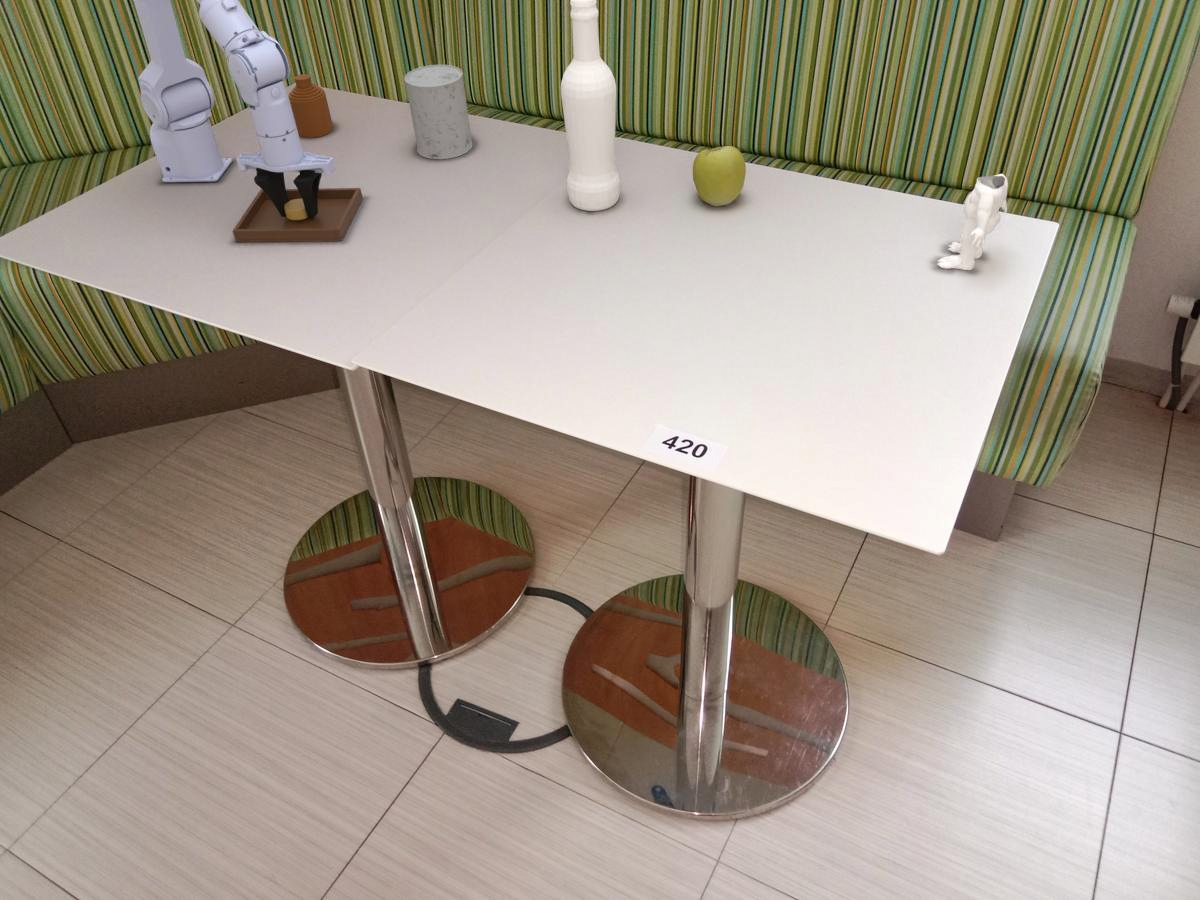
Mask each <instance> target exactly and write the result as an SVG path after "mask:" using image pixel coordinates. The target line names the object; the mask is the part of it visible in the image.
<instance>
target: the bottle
mask: <svg viewBox="0 0 1200 900" xmlns="http://www.w3.org/2000/svg"><path fill="white" fill-rule="evenodd" d="M597 3H598V1H597V0H570V1H569V4H570V6H571V9H570V15H569V16H570V19H571V31H572V32H571V33H572V53H573V54H572V57H573V58H572V60H571V62H570V64H568V65H567V67H566V69H565V70H564V72H563V74H562V75H563V76H562V79H561V83H560V98H561V104H562V112H563V119H564V121H563V122H564V127H565V136H566V143H567V150H568V158H569V159H568V160H569V172H568V174H567V179H566V188H567V189H566V190H567V195H568V199H569V202H570V203H571V205H572V206H573V207H575V208H576V209H578V210H582V211H587V212H598V211H603V210H607V209H609V208H612V207H613V206H614V205H615V204H616V203H617V202H618V200H619V198H620V194H621V193H620V192H621V178H620V174H619V172H618V170H617V167H616V166H617V165H616V155H615V154H616V120H617V119H616V115H617V84H616V79H615V77H614V74H613V72H612V70H611V68H610V67H609V66H608V65H607V63H606V62H605V61H604V60H603V59H602V57H601V51H600V37H599V22H598V18H599V10H598V8H597V7H598V6H597Z"/></svg>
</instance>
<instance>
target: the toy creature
mask: <svg viewBox="0 0 1200 900" xmlns="http://www.w3.org/2000/svg"><path fill="white" fill-rule="evenodd" d="M1008 188H1009V181H1008V178H1007V177H1006V176H1005V174H1003V173H998V174H994V175H985V176H984V175H983V176H979V177H977V178H976V183H975V185H974V188H973V189H972V191H971V192H970V193H969V194H968V195H967V197H966V199H965V201H964V205H963V213H964V215H965V219H964V221H963V224H962V229H961V235H960V236H959V237H960V238H959V241H960V242H957V241H952V242H951V244H949V245H948V247H949V248H947V250H948V251H950V252H952V253H958V254H953V255H952V254H951V255H949V256H942V257H941V258H940V259H938V260H937V263H936V266H939V267H940V268H941V269H946V270H949V269H956V270H963V271H972V270H973V269H974V266H975V263H976V262H975V259H980V258H981V256H982V254H983V250H984V248H983V247H984V246H985V244H986V235H988V234H991V233H993V231H994V230H995V229H996V227H997V225H999V223H1000V221H1001V217H1002V216H1001V213H1000V209H1001V210H1002V211H1004V214H1007V212H1008V205H1007V196H1008Z"/></svg>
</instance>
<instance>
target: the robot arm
mask: <svg viewBox="0 0 1200 900" xmlns="http://www.w3.org/2000/svg"><path fill="white" fill-rule="evenodd" d="M132 1H133V3H134V7H135V11H136V14H137V17H138V21H139V24H140V27H141V31H142V34H143V37H144V41H145V44H146V48H147V51H148V54H149V58H150V61H149V63H147V65H146V66H145V68H144V69H143V70H142V72H141V73H140V74H139V76H138V78H137V81H138V84H139V90H140V102H141V105H142V108H143V110H144V112H145V114H146V116H147V117H148V118H149V120H150V121H151V122H152V124H151V126H150V131H149V135H150V144H151V147H152V149H153V152H154V155H155V157H156V160H157V163H158V165H159V168H160V172H161V174H162V178H161V181H162V183H196V182H197V183H200V182H201V183H202V182H203V183H204V182H206V183H207V182H208V183H209V182H217V181H219V179H220V178H221V177H222V175H223V174H224V173H225V172H226V170H227V169H228V168H229V166H230V165H231V164H232V162H233V157H222V154H221V151H220V148H219V146H218V142H217V139H216V135H215V133H214V129H213V127H212V124H211V120H210V118H211V117H212V116H213V114H212V110H213V109H214V107H215V102H216V101H215V100H216V99H215V93H214V90H213V88H212V86H211V84H210V82H209V80H208V79H207V76H206V75H207V74H206V73H205V70H204V68H203V67H202V66H201V65H200V64H199V63H197V62H196V61H194V60H192V59H189V58H187V57H186V54H185V51H184V48H183V43H182V39H181V36H180V31H179V28H178V25H177V20H176V18H175V13H174V10H173V6H172V2H171V0H132ZM196 2H197V3H198V4H199V11H198V16H199V19H200V21H201V22H202V24H203V25H204V27H205V28H206V29H207V31H208V32H209V34H210V36H211V37H212V38H213V39H214V40H215V42H216V44H217V45H218V46H219V49H221V51H222V52H223V53H224V55H225V56H226V57H227V59H228V62H227V63H228V67H227V69H228V72H229V74H230V76H231V79H232V81H233V82H234V84H235V85H236V86H237V88H238V91H239V94H240V97H241V98H242V100H243V102H244V103H245V104H247V106H248V110H249V114H250V117H251V120H252V123H253V128H254V131H255V134H256V138H257V141H258V145H259V148H260V151H258V152H242V153H240V155H238V156H237V157H236V159H235V160H236V164H237V166H238V170H239V172H247V171H248V170H255V171H256V175H255V176H254V177H253V181H254V183H255V185H257V186H258V187H259V188H260V190H261V189H262V190H263V191H264V192H265V193H266V194H267V195H268V196H269V198H270V199H271V200H272V202H273V203H274V205H275V206H276V208H277V210H278V211H279V213H280V215H281V217H286V213H285V209H284V205H285V204H286V203H287V202H289V199H288V195H287V192H286V189H287V188H286V182H285V173H289V172H296V173H299V174H298V175H297V176H296V177H295V178H294V179H293V180H292V183H293V184H294V185H295V187H296V189H298V191H299V193H300V195H301V197H302V200H303V203H304V206H305V210H306V214H307V216H308V218H309V219H313V218H314V217H315V216H316V215H317V213H318V189H320V184H321V179H322V176H323V175H324V176H331V175H332V174H333V173H334V172H335V171H336V166H335V162H334V158H333V157H332V156H323V155H319V154H315V153H311V152H308V151H304V150H303V147H302V143H301V139H300V136H299V135H298V131H297V127H296V123H295V119H294V116H293V112H292V108H291V104H290V100H289V92H288V88H287V85H286V81H284V80H288V78H289V77H290V73H291V70H290V69H291V67H290V62H289V59H288V56H287V55H286V53H285V50H284V49H283V48H282V45H281V44H280V43H279V42H278V41H277V40H276V38H274V37H272V36H270V35H269V34H268V33H267V31H264V30H260V29H259V28H258V27H257V25H256V24H255V23H254V20H252V18H251V17H250V15H249V14H248V12H247V11H246V10H245V8H244V6H243V5H242V4H241V2H240V1H239V0H196Z"/></svg>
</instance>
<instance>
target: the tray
mask: <svg viewBox="0 0 1200 900" xmlns="http://www.w3.org/2000/svg"><path fill="white" fill-rule="evenodd" d="M286 192H287V195H288V199H289V201H291V200H295V199H302V197H301V195H300V193H299V191H298V189H297V188H286ZM363 200H364V197H363V193H362V189H361V187H336V188H334V187H333V188H331V187H328V188H327V187H326V188H319V189H318V213H317V215H316V216H315V217H314V218H313V219H309V218H305V219H302V220H290V219H288V218H287V216H286V217H281V215H280V213H279V211H278V210H277V208H276V206H275V205H274V203H273V202H272V200H271V199H270V198H269V196H268V195H267V194H266V193H265V192H264V191H263V190H262V189H261V188H260V190H259V191H258V192H257V194H256V196H255V197H254V198H253V200H252V201H251V203H250V204H249V206H248V207H247V208H246V210H245V212H244V213H243V215H242V216H241V218H240V219H239V220H238V222H237V223H236V225H235V227H234V228H233V230H232V234H233V237H234V240H235V243H293V242H295V243H296V242H299V243H300V242H343V239H344V237H345V236H346V234H347V232H348V230H349V228H350V226H351V223H352V221H353V220H354V218H355V216H356V213H357V212H358V210H359V207H360V206H361V203H362V202H363Z"/></svg>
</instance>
